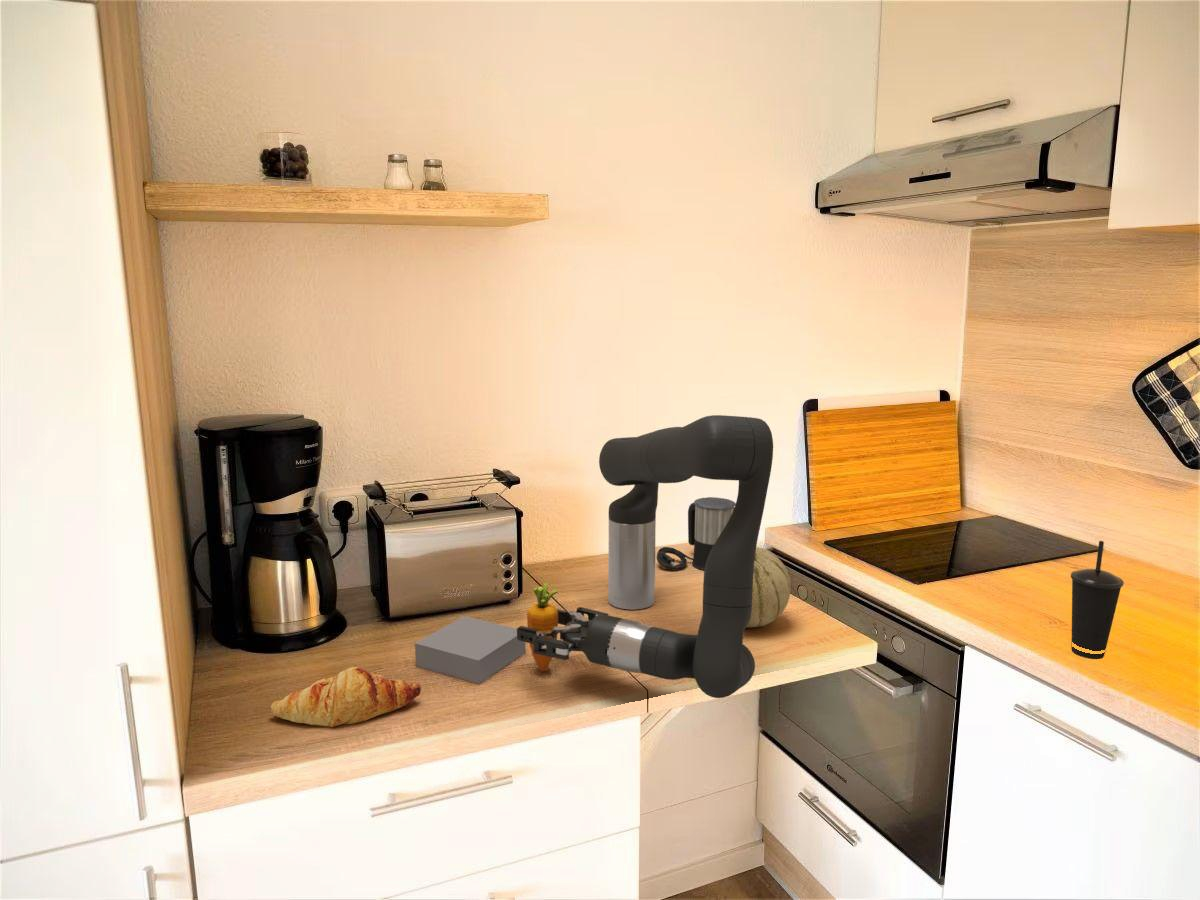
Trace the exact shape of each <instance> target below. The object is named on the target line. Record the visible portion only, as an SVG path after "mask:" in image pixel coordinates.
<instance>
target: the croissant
mask: <svg viewBox="0 0 1200 900" xmlns="http://www.w3.org/2000/svg"><path fill="white" fill-rule="evenodd" d="M421 692H422V687H421V685H420V683H418V682H416V681H415V682H412V683H407V682H406V681H405V680H404V679H398V678H395V679H389V678H387V677H385V676H384V675H382V674H377V672H368V671H367V670H366V669H365V668H363V667H361V666H350V667H348V668H346V669H344V670H342V671H340V672H338V674H337V675H334V676H329V677H325V678H322V679H319V680H317V681H315V682H314V683H312V684H311V685H310V686H307V687H306V688H302V689H299V690H295V691H293V692H291V693H289V694H288V695H286V696H285V697H284V698H283V699H280V700H276V701H273V703H272V704H271V706H270V709H271V714H272V715H273V716H276V717H277V718H280V719H282V720H286V721H290V722H293V723H297V724H305V725H311V726H321V727H330V728H334V727H337V726H340V725H352V724H353V725H354V724H357V723H362V722H366V721H368V720H370V719H373V718H375V717H377V716H381V715H382V714H387V713H391V712H393V711H395V710H399V709H401V708H403V707H406V706H407V705H408V704H409V703H411V702H412V701H413V700H414V699H416V698H417V697H419V696H420V694H421Z"/></svg>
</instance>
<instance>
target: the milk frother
mask: <svg viewBox="0 0 1200 900" xmlns="http://www.w3.org/2000/svg"><path fill="white" fill-rule="evenodd" d="M735 504H736V502H735V501H733V500H731V499H729V498H725V497H724V498H723V497H716V496H715V497H713V496H712V497H711V496H708V497H700V498H696V499H695V500H694V501H693V502H692V503H690V504H689V506H688V511H687V532H688V533H687V534H688V535H687V536H688V537H687V539H688V540H687V541H688V544H689V545H690V546H693V557H690V556H688V555H686V554H685V553H683V552H682V551H680V550H679V549H676V548H674V547H669V546H663V547H661V548H660V549H658V551H657V552H656V561H657V562H658V564H659V565H660V566H662V567H663V568H665V569H668V570H675V571H676V570H682V569H684V568H685V567H686V566H687V563H688V562H687V561H688V560H691V561H692V562H691V565H692V566H694V567H695V568H697V569H699V570H702V571H704V569H705V565H706V561H707V558H708V556H709V553H710V551H711V549H712V547H713V546H714V544H715V542H716V541H717V539H718V537H719V536H720V534H721V532H722V531H723V529H724V528H725V526H726V524H727V522H728V521H729V519H730V517H731V515H732V512H733V510H734V507H735ZM668 554H671V555H674V556H677V558H679V559H680V563H677V564H675V561H676V559H675V558H674V557H672V556H670V555H668ZM687 559H688V560H687Z"/></svg>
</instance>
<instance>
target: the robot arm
mask: <svg viewBox="0 0 1200 900" xmlns="http://www.w3.org/2000/svg"><path fill="white" fill-rule="evenodd" d="M773 439H774V438H773V434H772V430H771V428H770V427H769V425H768V423H767V422H766V421H765V420H763V419H761V418H758V417H751V416H750V417H748V416H737V415H726V414H725V415H723V414H722V415H721V414H718V415H717V414H715V415H714V414H712V415H706V416H703V417H701V418H699V419H696V420H695V421H692V422H690V423H688V424H686V425H684V426H674V427H673V426H672V427H665V428H660V429H657V430H654V431H652V432H648V433H645V434H642V435H639V436H632V437H631V436H630V437H629V436H628V437H616V438H611V439H609V440H608V441H606V442H605V443H604V444H603V446H602V448H601V450H600V453H599V458H598V464H599V470H600V473H601V475H602V477H603V479H604V480H605V481H606V482H607V483H608V484H610V485H612V486H615V487H624V486H633V488H631V490H630V491H629V492H628V493H626V494H625V495H622V496H621V497H619V498H617V499H615V500H613V501H611V503H610V504H609V506H608V559H607V560H608V566H607V567H608V574H607V575H608V576H607V577H608V578H607V579H608V584H607V587H608V591H607V596H608V599H607V601H608V603H609V604H610V605H611V606H613V607H615V608H618V609H621V610H622V609H623V610H632V611H633V610H644V609H647V608H649V607H651V606H653V605H654V604H655V597H656V593H655V591H656V590H655V589H656V587H655V586H656V528H657V527H656V525H657V523H656V520H657V519H656V514H657V507H658V503H659V502H658V501H659V484H677V483H682V482H684V481H688V480H689V479H691V478H692V477H698V478H703V479H706V480H707V479H708V480H713V481H715V480H716V481H719V480H720V481H738V488H737V489H738V491H737V497H736V502H735V503H736V504H735V506H734V510H733V512H732V515H731V517H730V519H729V521H728V522H727V524H726V526H725V528H724V529H723V531H722V532H721V534H720V536H719V537H718V539H717V541H716V542H715V544H714V546H713V547H712V549H711V551H710V553H709V556H708V558H707V561H706V565H705V569H704V570H703V571H704V572H703V583H702V590H703V591H702V615H701V619H700V623H699V626H698V630H697V634H687V633H679V632H677V631H674V630H669V629H664V628H662V627H661V628H660V627H656V626H652V625H649V624H646V623H643V622H640V621H637V620H632V619H627V618H622V617H617V616H612V615H609V613H607V612H604V611H599V610H595V609H590V608H587V607H582V606H579V607H578V606H577V607H576V610H574V609H569V610H563V609H559V608H556V609H557V611H558V625H559V626H558V627H552V628H551V630H543V631H539V630H537V629H533V628H528V626H524V625H520V626H518V627H516V628H517V639H518V640H519V641H523V642H525V643H528V644H530V643H531V644H533V646H534V649H533V653H535V654H539V655H544V656H548V657H552V659H553V658H554V659H559V660H563V661H566V660H569V659H570V653H571V652H582V653H583V654H584V655H585V657H586V659H587V660H588V661H589V662H590V663H592V664H597V665H601V666H605V667H608V668H613V669H616V670H619V671H625V672H629V673H634V674H635V673H637V674H642V675H643V674H645V675H648V676H652V677H655V678H660V679H665V680H671V681H673V680H674V681H676V680H681V679H694V680H695V682H696V684H697V686H698V688H699V689H700V691H702V692H703V693H704V694H705V695H707V696H708V697H711V698H713V699H714V698H715V699H723V698H726V697H729V696H731V695H733V694H734V693H736V692H737V691H739V690H740V689H741V688H743V687H744V686H745V685H746V684H748V683H749V682H750V681H751V679H752V678H753V676H754V673H755V672H756V671H755V669H756V663H755V662H756V661H755V658H754V655H753V654H752V652H751V650H749V647H747V645H745V644H743V643H744V642H743V640H744V634H745V629H746V628H747V627H746V626H747V625H748V623H749V621H750V618H751V613H752V594H753V571H754V560H755V552H756V547H757V545H758V541H759V540H758V539H759V535H760V529H761V524H762V521H763V520H762V519H763V515H764V511H765V510H764V509H765V505H766V501H767V500H766V499H767V494H768V489H769V484H770V478H771V473H772V468H773V467H772V465H773V458H774V440H773ZM585 615H587V616H586V617H585ZM560 625H561V626H560ZM558 634H559V639H558ZM544 636H552V638H547V637H544ZM542 648H546V649H542Z"/></svg>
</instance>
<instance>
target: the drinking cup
mask: <svg viewBox="0 0 1200 900" xmlns="http://www.w3.org/2000/svg"><path fill="white" fill-rule="evenodd" d="M1104 545H1105V542H1104V540H1099V542H1098V548H1097V556H1096V565H1095V568H1084V569H1080V570H1079V569H1078V570H1074V571H1072V572H1071V573H1070V578H1071V580H1072V581H1071V583H1072V584H1071V591H1072V592H1071V643H1072V642H1073V643H1074V644H1076V645H1077V646H1079V647H1082V648H1085V649H1089V650H1092V651H1101V650H1105V649H1107V646H1108V645H1107V644H1108V642H1109V638H1110V634H1111V629H1112V626H1113V622H1114V618H1115V613H1116V608H1117V606H1118V605H1117V604H1118V600H1119V597H1120V594H1121V589H1122V587H1124V584H1125V582H1124V580H1123V579H1122V578H1121V577H1118V576H1116V575H1115V574H1113V573H1111V572H1109V571H1106V570H1102V569H1101V568H1102V560H1103V559H1102V558H1103V552H1104ZM1070 649H1071V652H1072V653H1073V655H1076V656H1078V657H1081V658H1084V659H1089V660H1101V659H1104V657H1105V653H1106V650H1105V652H1104V653H1102V654H1090V653H1085V652H1082V651H1079V650H1077V649H1075V648H1074V647H1072V645H1071V648H1070Z"/></svg>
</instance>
